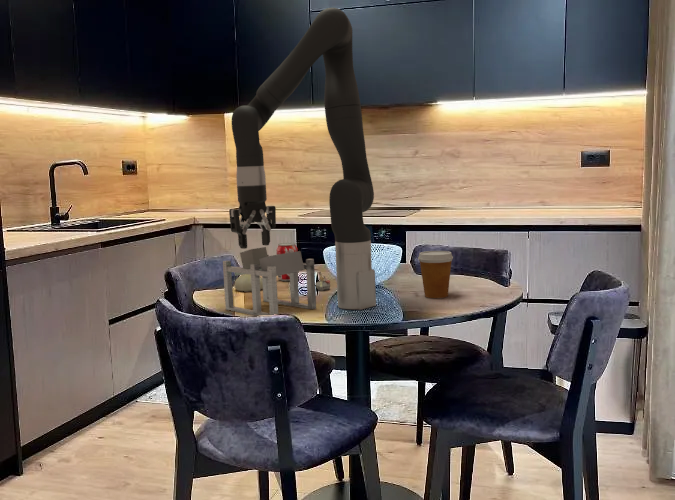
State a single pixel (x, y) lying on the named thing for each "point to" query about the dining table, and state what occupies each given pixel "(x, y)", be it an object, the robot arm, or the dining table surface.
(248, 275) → the sea urchin shell
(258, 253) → the basalt cube
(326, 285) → the figurine
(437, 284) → the disposable coffee cup
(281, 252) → the soda can
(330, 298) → the dining table surface
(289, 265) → the trapdoor
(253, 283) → the frame
